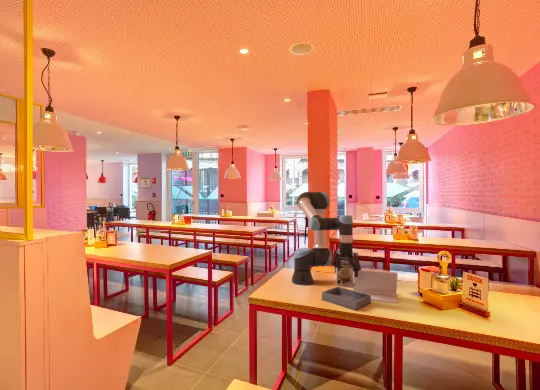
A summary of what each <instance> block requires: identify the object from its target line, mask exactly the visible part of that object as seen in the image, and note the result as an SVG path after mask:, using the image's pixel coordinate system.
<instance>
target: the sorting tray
mask: <svg viewBox="0 0 540 390" xmlns="http://www.w3.org/2000/svg"><path fill="white" fill-rule="evenodd" d="M321 301H324V302H328V303H331V304H334V305H336V306H340V307H342V308H346V309H349V310H352V311H356V312H357V311H359V310H361V309H362V308H365V307H366V306H369V305H370V304H372V301H371V295H368V294H364V293H360V292H356V291H353V289H349V288H346V287H342V286H337V285H336V286H335V287H332V288H330V289H329V288H328V289H326V290H324V291H322V292H321Z"/></svg>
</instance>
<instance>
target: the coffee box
mask: <svg viewBox="0 0 540 390" xmlns="http://www.w3.org/2000/svg"><path fill="white" fill-rule="evenodd" d="M354 262H355V260H354V257H353V258H352V259H348V258H344V257H339V256H338V258H337V279H336V280H337V281H336V282H337V283H336V284H337V285H336V287H337V286H338V287H342V288H348V289H349V288H351V289H353V287H354V286H355V283H353V271H354V269H353V263H354Z"/></svg>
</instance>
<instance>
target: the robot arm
mask: <svg viewBox="0 0 540 390" xmlns="http://www.w3.org/2000/svg"><path fill="white" fill-rule="evenodd" d="M330 202H331V201H330V197H329V194H328V193H327V192H325V191H323V192H322V191H305V192H302V193H300V194H299V195H298V196H297V199H296V205H297V207H298V209H299V210H302V212H303V214H304V215H305V217H306V218H307V219H308V224H307V225H308V228H309V230H310V231H313V240H314V241H313V242H314V243H313V246H312V249H311V248H310V247H309V248H308V247H301V248H297V249H296V250H295V251H294V253H293V254H294V255H293V258H294V259H293V261H294V265H293V266H294V268H293V274H292V276H291V282H292V283H293V284H295V285H301V286H307V285H312V284H313V283H314V278H313V275H312V270H311V269H312V268H313V267H314V268H316V267H319V268H320V267H322V268H323V267H329V266H330V265H332V266H333V267H334V273H335V280H337V258H338V257H344V258H348V259H352V258H354V260H355V262H354V263H353V269H354V271H353V283H356V282H357V277H358V271H360V270H362V266H361V264H360V259H359V253H358V252H354V251H353V249H354V246H353V245H354V244H353V241H354V240H353V239H354V235H353V233H354V232H353V230H354V226H353V225H354V222H353V215H350V214H349V215H347V214H341V215H339V216H338V217H336V216H335V217H326V211H327V209H328V208H329V207H330ZM326 231H338V234H339V235H338V236H339V239H338V240H339V242H338V248H339V249H334V254H333V253H332V250H331V249H329V246H328V245H327V232H326ZM339 254H340V255H339ZM333 255H334V256H333Z"/></svg>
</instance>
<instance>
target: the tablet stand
mask: <svg viewBox="0 0 540 390" xmlns="http://www.w3.org/2000/svg"><path fill="white" fill-rule="evenodd" d="M398 275H399V274H398V272H393V271H382V270H381V271H380V270H372V269H361V270H360V271H358V277H357V282H356V283H355V286H354V287H353V288H352V290H353V291H356V292H360V293H364V294H368V295H371V302H372V301H373V302H381V303H390V304H399V301H398V297H397V289H398Z"/></svg>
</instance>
